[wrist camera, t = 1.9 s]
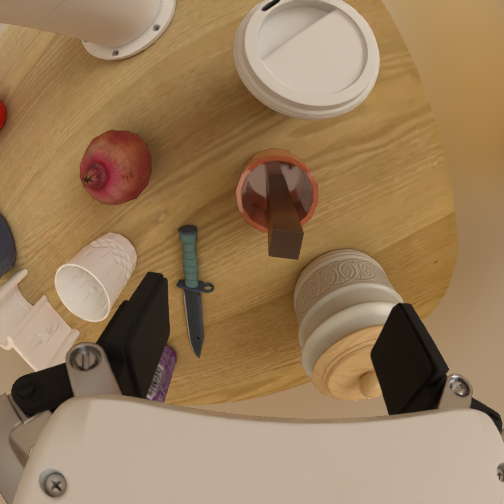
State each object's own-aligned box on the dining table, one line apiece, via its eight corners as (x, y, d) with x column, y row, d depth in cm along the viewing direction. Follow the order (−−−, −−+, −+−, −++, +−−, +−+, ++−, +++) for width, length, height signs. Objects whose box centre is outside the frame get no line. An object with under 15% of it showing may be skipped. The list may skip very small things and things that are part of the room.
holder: (244, 144, 29) (240, 150, 24) (314, 154, 30) (325, 163, 24) (236, 209, 33) (231, 228, 27) (302, 218, 33) (310, 239, 28)
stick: (268, 174, 30) (273, 228, 16) (284, 176, 30) (304, 232, 16) (265, 189, 31) (268, 256, 17) (281, 191, 31) (298, 260, 17)
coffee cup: (314, 31, 23) (353, -27, 10) (345, 106, 27) (410, 102, 13) (232, 54, 25) (206, 5, 11) (263, 131, 29) (264, 141, 15)
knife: (169, 230, 32) (210, 235, 31) (175, 223, 34) (215, 227, 33) (186, 360, 44) (215, 366, 43) (189, 351, 45) (218, 356, 45)
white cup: (108, 283, 38) (77, 325, 30) (84, 237, 35) (44, 272, 26) (150, 271, 37) (122, 317, 28) (126, 220, 34) (86, 256, 25)
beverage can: (132, 336, 43) (106, 390, 32) (169, 335, 42) (148, 395, 32) (147, 364, 46) (127, 417, 36) (182, 365, 46) (167, 421, 35)
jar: (273, 302, 39) (277, 414, 23) (332, 227, 33) (383, 324, 18) (342, 336, 41) (368, 434, 25) (399, 275, 36) (458, 366, 20)
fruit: (140, 205, 33) (100, 238, 24) (94, 168, 31) (45, 189, 22) (176, 153, 30) (142, 170, 21) (126, 115, 28) (78, 118, 19)
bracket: (8, 282, 40) (-26, 317, 29) (24, 262, 38) (-17, 300, 27) (84, 370, 50) (63, 411, 39) (109, 362, 47) (86, 409, 36)
